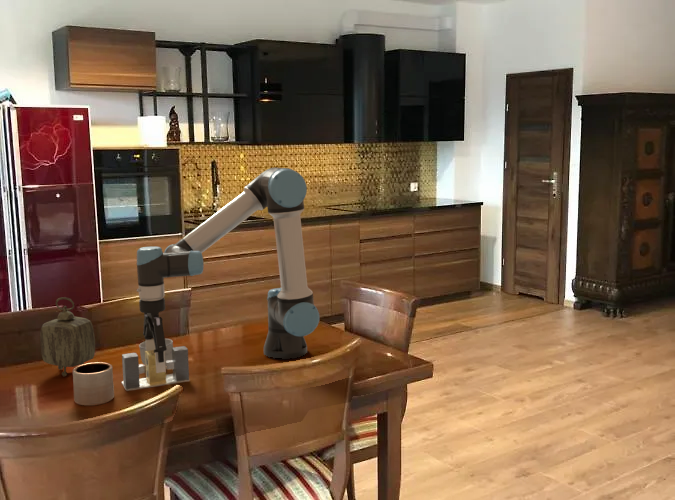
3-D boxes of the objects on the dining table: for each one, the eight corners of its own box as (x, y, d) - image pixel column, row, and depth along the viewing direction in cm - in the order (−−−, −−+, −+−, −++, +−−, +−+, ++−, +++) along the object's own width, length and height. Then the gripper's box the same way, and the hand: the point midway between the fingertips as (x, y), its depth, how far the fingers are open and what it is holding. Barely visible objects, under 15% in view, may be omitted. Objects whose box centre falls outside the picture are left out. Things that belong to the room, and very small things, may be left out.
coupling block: (162, 376, 221) (161, 349, 219) (166, 381, 216) (165, 353, 215) (145, 379, 218) (144, 351, 217) (149, 384, 214) (148, 355, 213)
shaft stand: (182, 373, 225) (181, 343, 223) (189, 380, 218) (188, 349, 216) (121, 382, 217) (119, 351, 215) (126, 391, 209) (124, 358, 208)
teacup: (165, 372, 227) (164, 347, 225) (134, 370, 229) (132, 346, 228) (183, 358, 240) (182, 336, 239) (153, 357, 242) (152, 334, 241)
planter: (80, 393, 208) (78, 362, 206) (118, 392, 208) (116, 361, 207) (69, 407, 197) (67, 374, 195) (109, 406, 198) (107, 373, 196)
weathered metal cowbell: (96, 372, 226) (92, 296, 223) (77, 381, 218) (72, 302, 214) (59, 367, 231) (54, 293, 227) (40, 376, 223) (34, 299, 219)
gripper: (131, 291, 222) (135, 356, 226) (148, 308, 200) (152, 379, 204) (155, 289, 226) (158, 353, 229) (174, 305, 204) (178, 375, 207)
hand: (155, 365), depth 217 cm, fingers open, 13 cm apart
